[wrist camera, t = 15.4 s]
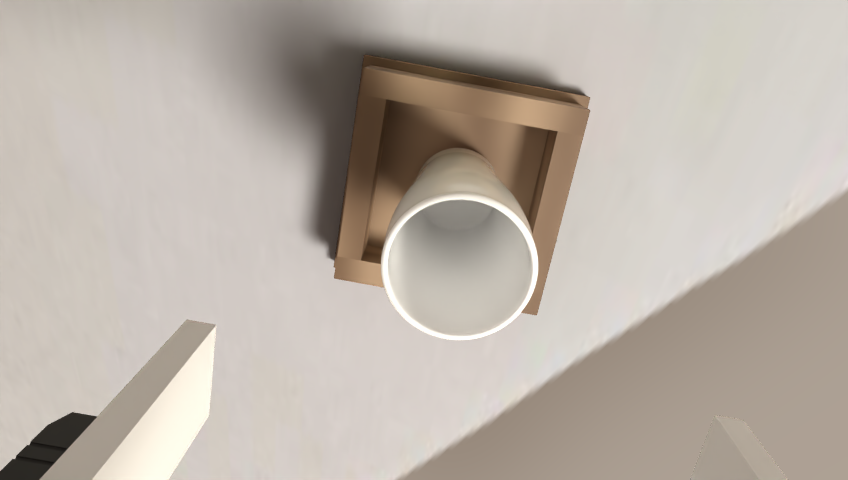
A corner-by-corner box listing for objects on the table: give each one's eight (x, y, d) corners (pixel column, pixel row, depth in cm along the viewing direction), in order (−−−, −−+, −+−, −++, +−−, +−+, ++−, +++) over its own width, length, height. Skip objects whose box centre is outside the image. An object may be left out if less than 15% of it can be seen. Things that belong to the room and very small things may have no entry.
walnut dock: (336, 262, 44) (325, 284, 40) (366, 54, 39) (356, 57, 35) (534, 298, 44) (542, 323, 40) (586, 96, 39) (601, 102, 36)
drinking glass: (383, 192, 41) (345, 276, 27) (451, 111, 39) (451, 156, 25) (461, 257, 42) (466, 371, 28) (532, 181, 40) (575, 263, 26)
